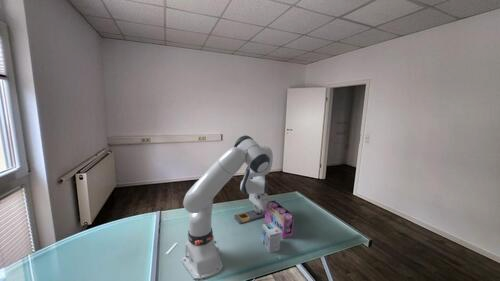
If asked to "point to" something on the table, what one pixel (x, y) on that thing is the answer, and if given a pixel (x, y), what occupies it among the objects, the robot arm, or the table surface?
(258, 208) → the nut
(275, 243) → the light bulb box
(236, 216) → the rail
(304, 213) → the table surface
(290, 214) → the pink product box
